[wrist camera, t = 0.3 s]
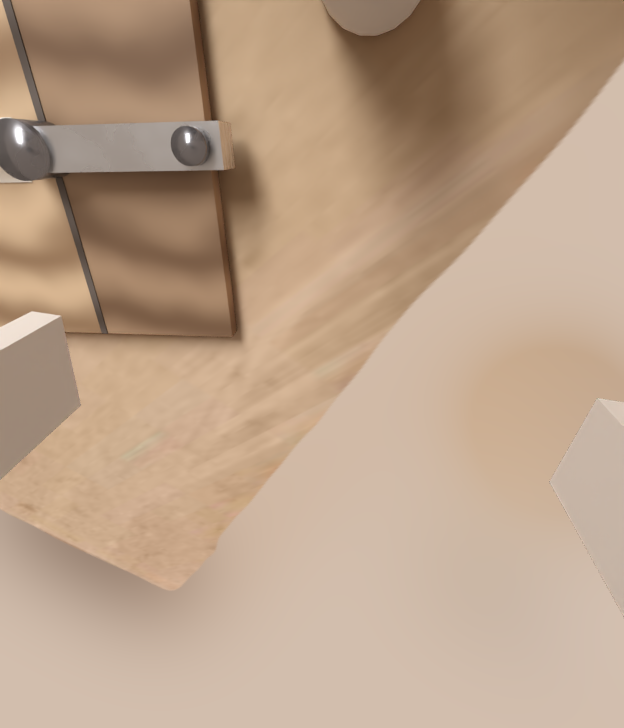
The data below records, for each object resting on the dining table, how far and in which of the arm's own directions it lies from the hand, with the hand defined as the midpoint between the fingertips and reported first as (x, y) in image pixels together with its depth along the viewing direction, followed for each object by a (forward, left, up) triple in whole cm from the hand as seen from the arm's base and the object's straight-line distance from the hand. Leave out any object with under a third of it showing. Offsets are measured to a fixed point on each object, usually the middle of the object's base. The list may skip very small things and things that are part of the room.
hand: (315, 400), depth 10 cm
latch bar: (-6, -17, -25) cm, 31 cm away
